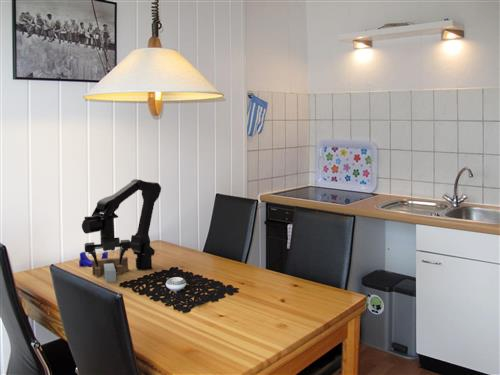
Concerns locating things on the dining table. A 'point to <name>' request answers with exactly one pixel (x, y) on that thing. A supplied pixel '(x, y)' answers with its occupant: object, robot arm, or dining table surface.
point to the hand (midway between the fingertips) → (108, 265)
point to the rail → (109, 273)
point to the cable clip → (87, 262)
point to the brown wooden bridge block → (115, 261)
